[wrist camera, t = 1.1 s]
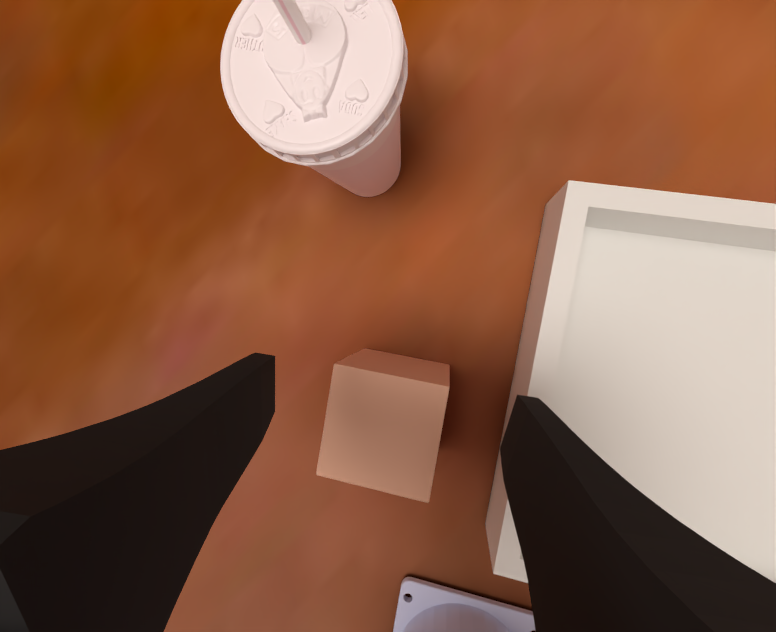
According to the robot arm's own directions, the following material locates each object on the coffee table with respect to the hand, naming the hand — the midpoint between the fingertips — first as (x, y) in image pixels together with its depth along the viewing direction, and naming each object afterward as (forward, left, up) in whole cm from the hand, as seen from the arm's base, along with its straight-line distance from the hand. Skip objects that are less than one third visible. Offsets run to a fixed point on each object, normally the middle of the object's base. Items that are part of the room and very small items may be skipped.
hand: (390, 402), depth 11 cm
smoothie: (+10, +5, -11) cm, 16 cm away
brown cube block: (-3, +1, -11) cm, 11 cm away
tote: (0, -14, -11) cm, 18 cm away
